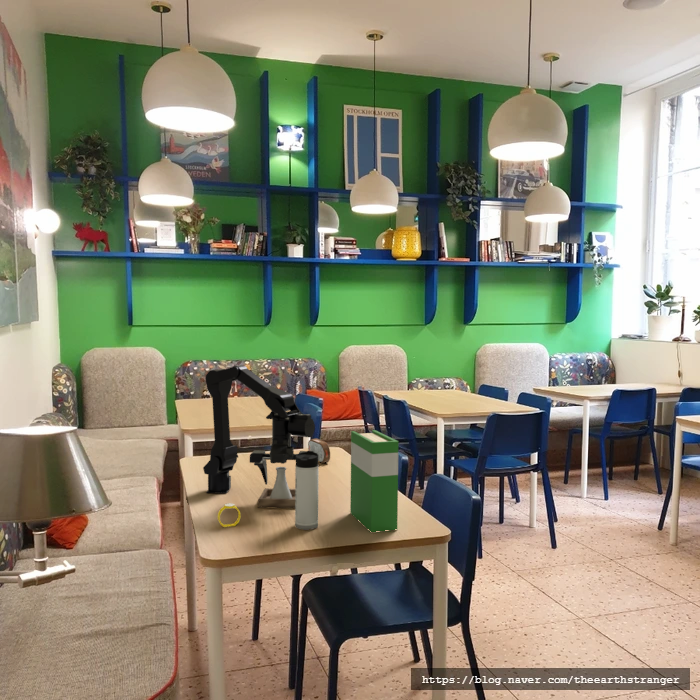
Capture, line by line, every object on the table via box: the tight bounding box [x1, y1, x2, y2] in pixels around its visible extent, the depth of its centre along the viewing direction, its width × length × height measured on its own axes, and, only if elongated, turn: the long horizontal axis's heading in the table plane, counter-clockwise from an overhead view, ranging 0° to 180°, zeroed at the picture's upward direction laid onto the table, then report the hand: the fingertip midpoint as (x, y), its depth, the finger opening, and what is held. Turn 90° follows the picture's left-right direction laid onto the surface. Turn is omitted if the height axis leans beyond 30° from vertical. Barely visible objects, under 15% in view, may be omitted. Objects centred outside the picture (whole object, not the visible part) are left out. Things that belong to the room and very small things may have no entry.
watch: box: [217, 503, 242, 528], centre depth 169 cm, size 6×3×6 cm, turn 112°
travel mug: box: [294, 450, 320, 531], centre depth 169 cm, size 6×7×20 cm
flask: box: [270, 466, 293, 499], centre depth 191 cm, size 7×7×10 cm
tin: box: [307, 437, 331, 464], centre depth 248 cm, size 15×3×8 cm, turn 30°
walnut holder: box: [257, 487, 295, 509], centre depth 192 cm, size 12×12×2 cm
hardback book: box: [349, 429, 399, 533], centre depth 173 cm, size 18×7×24 cm, turn 18°
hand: (281, 484), depth 191 cm, fingers open, 9 cm apart
